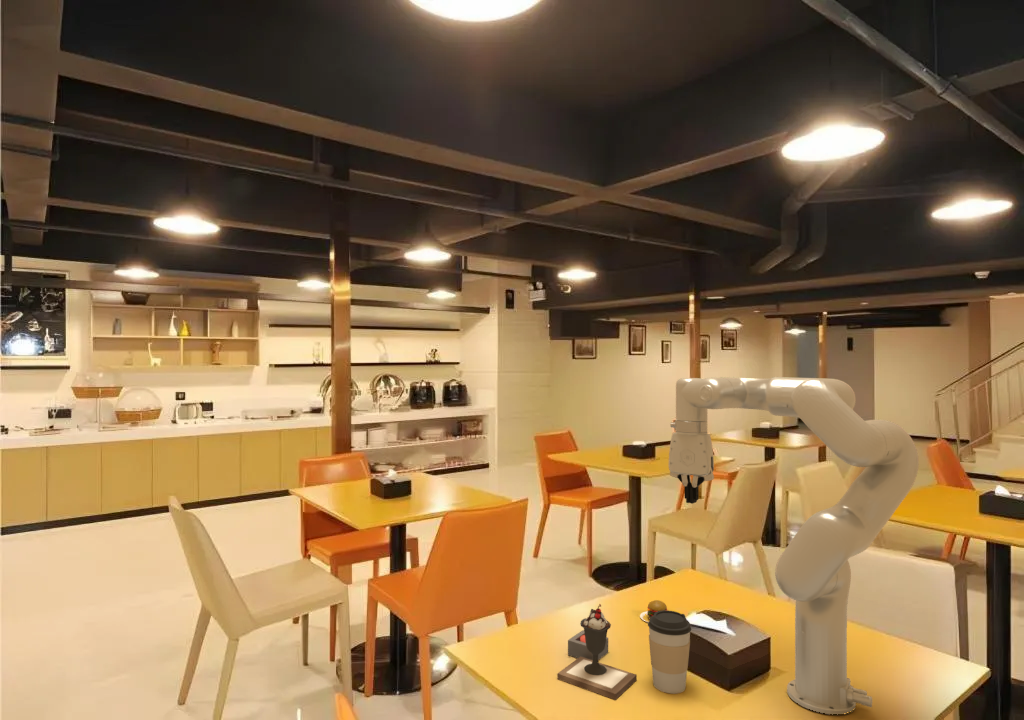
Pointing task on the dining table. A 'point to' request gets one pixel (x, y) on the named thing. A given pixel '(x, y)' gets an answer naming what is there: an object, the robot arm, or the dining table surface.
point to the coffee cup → (669, 650)
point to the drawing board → (597, 678)
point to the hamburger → (654, 608)
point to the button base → (583, 648)
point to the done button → (582, 638)
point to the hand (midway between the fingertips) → (691, 502)
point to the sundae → (595, 639)
